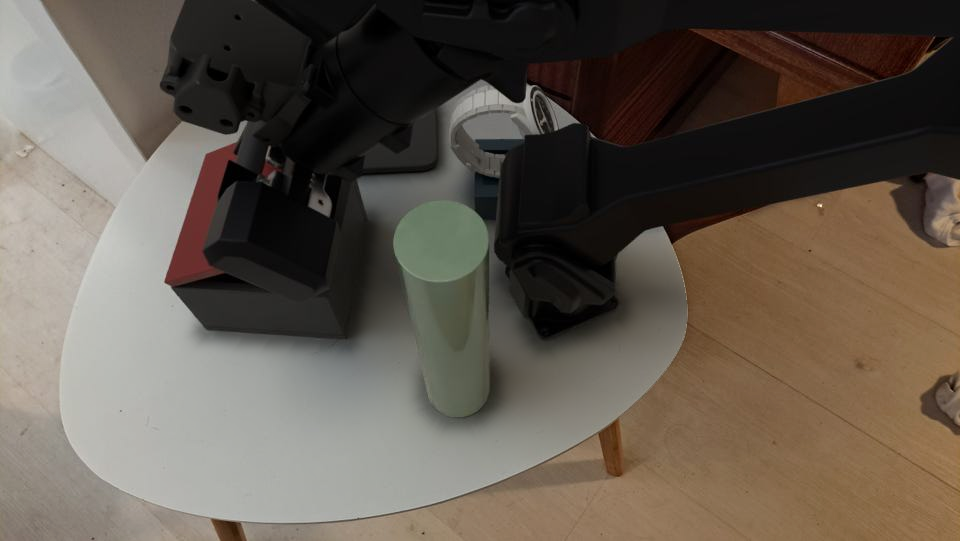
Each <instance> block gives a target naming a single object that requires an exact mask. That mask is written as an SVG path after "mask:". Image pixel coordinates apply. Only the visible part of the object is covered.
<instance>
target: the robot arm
mask: <svg viewBox="0 0 960 541" xmlns="http://www.w3.org/2000/svg"><path fill="white" fill-rule="evenodd" d="M683 30H712V31H741V32H745V31H746V32H748V31H749V32H773V33H774V32H778V33H782V32H783V33H805V34H806V33H807V34H810V33H811V34H835V35H837V34H839V35H870V36H898V37H899V36H900V37H901V36H902V37H903V36H904V37H931V38H932V37H933V38H949V39H948V40H947V41H946V42H945V43H943V44H942V45H941V46H940V47H939V48H937V49H936V50H934V52H933V53H931V54H930V55H929V56H928V57H926V58H925V59H924V60H923V61H921V62H920V63H919V64H918V65H917V66H915V67H914V68H913V69H912V70H910V71H908V72H905V73H901V74H899V75H896V76H891V77H888V78H884V79H881V80H876V81H873V82H869V83H865V84H862V85H857V86H854V87H853V86H852V87H849V88H847V89H846V88H845V89H841V90H838V91H834V92H831V93H827V94H824V95H820V96H815V97H811V98H808V99H805V100H801V101H797V102H793V103H789V104H785V105H781V106H777V107H774V108H770V109H766V110H762V111H759V112H755V113H751V114H747V115H743V116H739V117H736V118H732V119H728V120H725V121H721V122H716V123H712V124H709V125H705V126H701V127H698V128H694V129H690V130H685V131H682V132H678V133H675V134H671V135H667V136H663V137H659V138H656V139H651V140H648V141H644V142H640V143H637V144H632V145H625V146H624V145H621V144H617V143H615V142H610V141H608V140H604V139H600V138H597V137H594V136H592V134H591V131H590V128H589V126H588V124H586V123H581V122H572V123H570V124H568V125H565V126H563V127H561V128H559V130H556V131H553V132H549V133H544V134H531V135H525V136H524V143H523V144H521V145H518V146H516V147H513V148H512V149H511V150H509V151H508V152H507V153H506V157H505V158H504V160H503V162H502V164H501V166H500V177H499V189H498V201H497V213H496V219H495V226H494V237H493V253H494V254H495V256H496V258H497V259H498V260H499V261H500V262H501V263H503V264H504V265H506V267H505V269H504V276H505V277H506V279H507V281H508V292H509V294H510V295H511V297H512V299H513V301H514V303H515V305H516V307H517V309H518V310H519V312H520V314H521V316H522V318H525V319H527V320H529V322H530V324H531V326H532V328H533V329H534V331H535V333H536V335H537V337H538V338H539V339H541V340H542V341H546V340H550V339H552V338H554V337H556V336H559V335H561V334H564V333H565V332H569V331H570V330H572V329H575V328H577V327H580V326H582V325H584V324H586V323H589V322H591V321H594V320H595V319H598V318H601V317H602V316H605V315H606V314H607V315H608V314H610V313H612V312H614V311H617V309H618V308H619V303H620V301H619V299H618V298H617V296H616V295H617V294H616V293H617V259H618V256H619V254H620V253H621V252H622V251H624V250H625V249H626V248H627V247H628V246H629V245H630V244H631V243H632V242H634V241H635V240H636V239H637V238H638V237H640V236H641V235H642V234H643V233H644V232H645V231H649V230H653V229H656V228H662V227H666V226H671V225H676V224H681V223H687V222H691V221H696V220H700V219H705V218H711V217H716V216H721V215H725V214H726V215H727V214H729V213H735V212H741V211H744V210H745V211H746V210H750V209H754V208H760V207H764V206H769V205H774V204H778V203H784V202H789V201H794V200H798V199H799V200H800V199H803V198H808V197H813V196H818V195H822V194H828V193H832V192H838V191H843V190H847V189H852V188H858V187H862V186H868V185H871V184H877V183H882V182H886V181H887V182H888V181H891V180H896V179H900V178H906V177H911V176H916V175H921V174H933V175H934V174H935V175H937V176H942V177H945V178H949V179H950V178H951V179H954V180H957V181H960V0H184V1H183V4H182V7H181V8H180V11H179V14H178V16H177V19H176V22H175V23H174V27H173V28H172V32H171V34H170V38H169V45H168V46H169V47H168V55H167V56H168V57H167V62H166V63H167V64H166V66H165V70H164V72H163V74H162V76H161V79H160V81H159V88H160V90H161V91H162V92H164V93H165V94H167V95H170V96H172V97H173V98H174V100H173V106H172V111H173V113H174V114H175V115H176V116H177V117H178V118H179V119H180V121H182V122H184V123H187V124H190V125H193V126H197V127H199V128H203V129H204V130H205V129H206V130H209V131H212V132H215V133H218V134H222V135H225V136H227V135H232V134H237V133H238V131H239V129H240V126H241V123H243V122H246V121H250V122H255V125H254V129H253V132H252V136H253V137H255V138H256V139H258V140H260V141H262V142H264V143H265V144H267V145H269V147H268V150H267V154H266V161H267V163H268V164H270V165H272V166H273V167H275V168H278V169H281V173H280V172H279V171H277V170H275V171H273V172H272V173H271V174H269V175H268V179H267V178H266V176H264V175H262V174H260V175H258V174H256V173H254V172H252V171H250V170H248V169H246V168H245V167H243V166H241V165H239V164H237V163H235V162H233V161H231V160H228V163H227V166H226V169H225V173H224V176H223V179H222V182H221V186H220V189H219V192H218V196H217V202H218V203H217V205H216V207H215V210H214V213H213V216H212V219H211V223H210V226H209V229H208V233H207V236H206V239H205V242H204V246H203V249H202V253H203V255H204V257H205V258H206V260H207V262H208V264H209V266H211V267H213V268H215V269H218V270H220V271H223V272H225V273H227V274H230V275H232V276H234V277H237V278H239V279H241V280H244V281H246V282H248V283H251V284H253V285H256V286H258V287H260V288H263V289H265V290H267V291H270V292H272V293H274V294H277V295H279V296H281V297H284V298H286V299H289V300H291V301H293V302H296V303H298V304H300V303H302V302H304V301H306V300H308V299H310V298H312V297H315V296H317V295H319V294H321V293H323V292H325V291H327V290H329V289H330V284H331V279H332V275H333V270H334V265H335V260H336V255H337V250H338V245H339V240H340V235H341V233H340V230H339V227H338V224H337V221H335V220H334V219H332V218H330V213H331V209H332V203H331V200H330V198H329V196H328V195H327V194H326V193H325V190H324V188H325V183H326V179H327V174H328V173H329V172H331V173H333V174H335V175H337V176H338V177H340V178H342V179H344V180H345V181H347V182H349V183H351V182H353V181H355V180H356V179H357V180H359V179H360V178H362V174H363V173H362V170H363V164H364V159H365V154H367V153H368V152H370V151H371V150H373V149H375V148H376V147H378V146H379V145H381V144H382V145H383V146H385V147H387V148H388V149H390V150H391V151H393V152H395V153H396V154H398V153H400V152H402V151H403V150H405V149H407V148H408V147H410V142H411V136H412V130H413V123H415V122H416V121H418V120H419V119H421V118H423V117H424V116H426V115H427V114H429V113H430V112H432V111H433V110H435V109H436V110H437V109H438V108H440V107H441V106H443V105H444V104H446V103H447V102H449V101H451V100H452V99H454V98H455V97H457V96H458V95H460V94H461V93H463V92H464V91H466V90H467V89H469V88H471V87H472V86H474V85H475V84H477V83H478V82H480V81H483V82H485V83H487V84H488V85H489V86H490V85H491V86H492V87H494V88H495V89H496V90H497V91H499V92H500V93H501V94H503V95H504V96H505V97H506V98H508V99H509V100H510V101H512V102H513V103H522V102H523V101H524V100H525V98H526V86H528V85H527V83H528V70H529V67H530V64H531V65H533V64H549V63H558V62H559V63H560V62H569V61H571V62H572V61H581V60H591V59H602V58H603V59H604V58H610V57H613V56H616V55H618V54H620V53H622V52H624V51H626V50H628V49H630V48H632V47H634V46H635V45H636V46H637V45H638V44H639V43H642V42H643V41H646V40H648V39H649V38H651V37H653V36H655V35H657V34H659V33H663V32H672V31H683ZM499 92H498V93H499ZM245 128H246V125H245V126H244V128H243V130H242V131H241V134H240V136H239V138H238V139H237V141H236V142H237V143H236V145H235V147H234V150H233V153H234V154H235V155H236V156H237V155H238V151H239V148H240V144H241V141H242V138H243V134H244V131H245ZM308 190H309V191H308ZM610 303H613V304H612V305H611V304H610ZM543 331H545V332H546V334H544V333H542V332H543Z"/></svg>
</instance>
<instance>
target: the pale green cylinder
mask: <svg viewBox="0 0 960 541" xmlns="http://www.w3.org/2000/svg"><path fill="white" fill-rule="evenodd" d="M392 246H393V252H394V257H395V260H396V265H397V270H398V274H399V278H400V282H401V286H402V291H403V295H404V299H405V305H406V308H407V312H408V313H407V314H408V316H409V317H408V318H409V322H410V325H411V330H412V335H413V337H414V342H415V346H416V350H417V351H416V352H417V355H418V359H419V364H420V368H421V372H422V376H423V380H424V385H425V389H426V394H427V397H428V400H429V401H430V404H431V405H432V407H433V408H434V409H435V410H437V412H439V413H441V414H442V415H444V416H447V417H450V418H466V417H470V416H471V415H473V414H476V413H477V412H478V411H480V409H482V408H483V406H484V405H485V403H486V402H487V401H488V398H489V396H490V391H491V372H490V371H491V350H490V348H491V345H490V343H491V342H490V339H491V336H490V334H491V332H490V328H491V327H490V234H489V230H488V227H487V225H486V223H485V221H484V219H482V218H481V217H480V216H479V215H478V214H477V213H476V212H475V209H473V208H471V207H470V206H467V205H466V204H463V203H460V202H457V201H454V200H447V199H443V200H441V199H440V200H439V199H438V200H432V201H428V202H424V203H421V204H419V205H417V206H415V207H414V208H412V209H411V210H409V211H408V212H407V213H406V214H405V215H404V216H403V217H402V218H401V220H400V221H399V222H398V224H397V226H396V227H395V231H394V234H393V239H392Z"/></svg>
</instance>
